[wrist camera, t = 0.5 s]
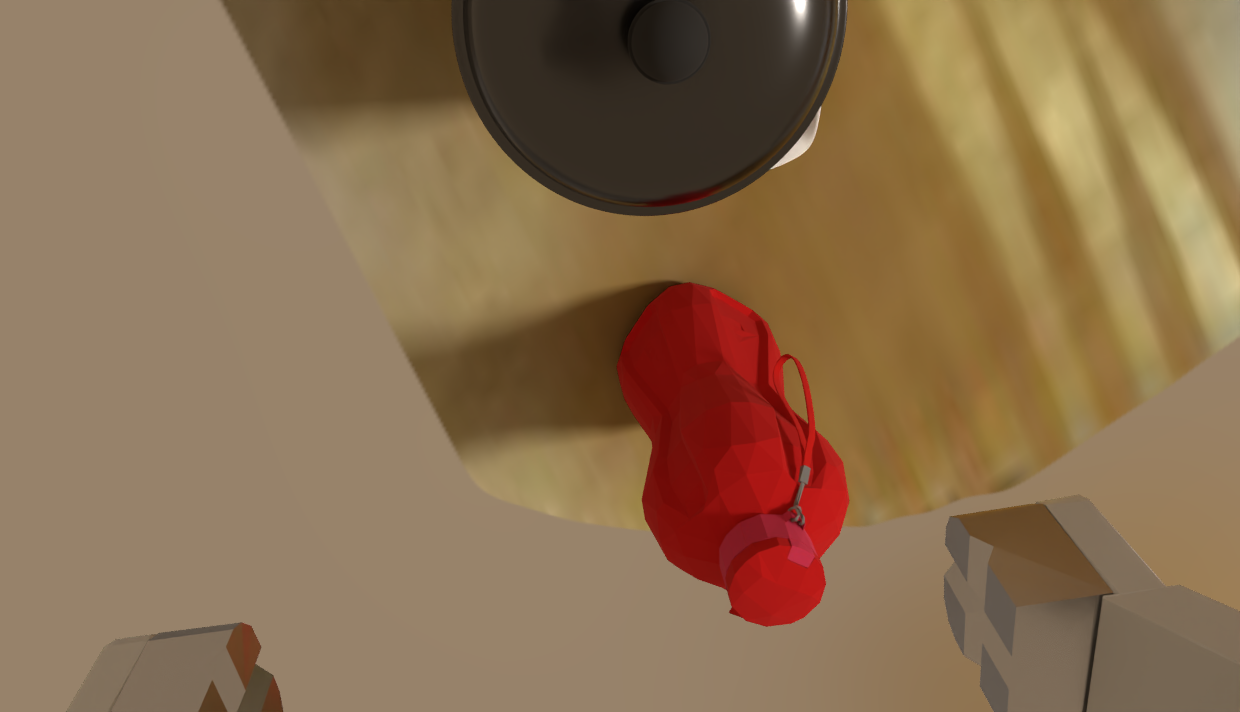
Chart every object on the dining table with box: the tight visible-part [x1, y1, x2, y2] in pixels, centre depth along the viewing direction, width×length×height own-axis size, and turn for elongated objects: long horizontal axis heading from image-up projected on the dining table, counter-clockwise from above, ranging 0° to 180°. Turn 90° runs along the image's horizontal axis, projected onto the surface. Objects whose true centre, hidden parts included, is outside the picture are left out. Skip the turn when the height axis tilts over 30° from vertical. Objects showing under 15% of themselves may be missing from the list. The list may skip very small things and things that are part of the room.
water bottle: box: [617, 282, 849, 627], centre depth 51 cm, size 9×11×25 cm
